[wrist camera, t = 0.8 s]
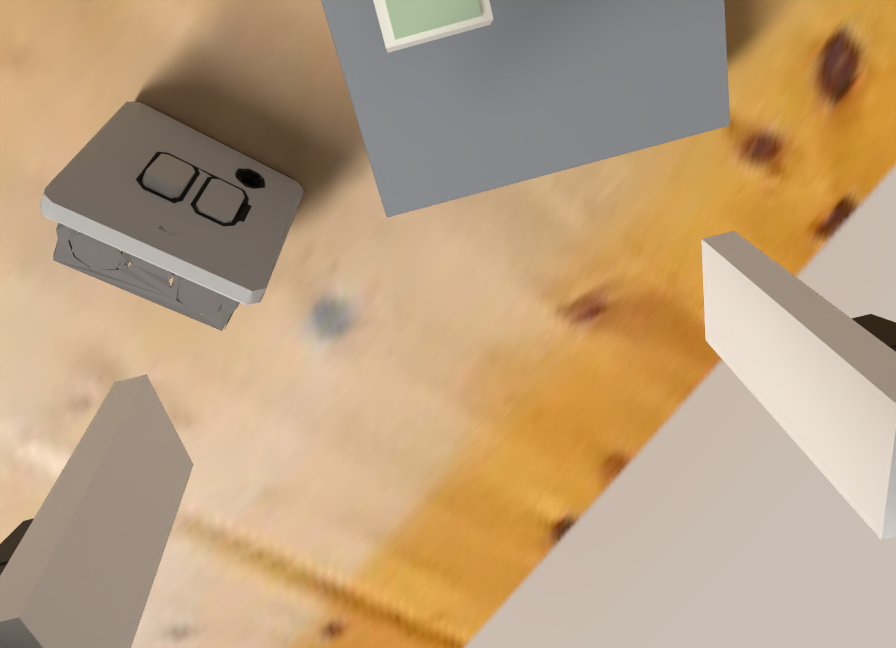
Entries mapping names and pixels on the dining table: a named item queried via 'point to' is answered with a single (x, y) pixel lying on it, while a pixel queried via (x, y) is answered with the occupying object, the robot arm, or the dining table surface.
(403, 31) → the rocker
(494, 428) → the dining table surface
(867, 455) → the robot arm
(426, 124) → the console
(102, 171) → the electrical switch
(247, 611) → the dining table surface
